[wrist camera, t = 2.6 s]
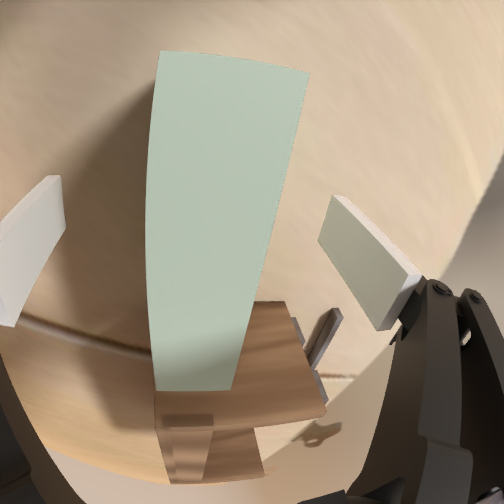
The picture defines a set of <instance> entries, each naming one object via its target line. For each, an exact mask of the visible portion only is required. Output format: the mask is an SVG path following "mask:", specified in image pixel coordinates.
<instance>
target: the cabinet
mask: <svg viewBox="0 0 504 504" xmlns="http://www.w3.org/2000/svg"><path fill="white" fill-rule="evenodd" d="M343 318H344V317H343V316H342V314H341V312H340V310H339V308H333V309H332V311H331V313H330V315H329V317H328V319H327V321H326V323H325V325H324V327H323V329H322V331H321V333H320V335H319V337H318V339H317V341H316V343H315V345H314V347H313V349H312V350H311V352H310V354H309V356H308V358H306V355H305V353H304V350H303V345H304V343H305V339H304V337H303V334H302V332H301V329H300V327H299V324H298V322H297V319H296V317H290V314H289V312H288V309H287V307H286V304H285V301H272V302H254V303H253V307H252V311H251V315H250V318H249V322H248V326H247V330H246V334H245V337H244V341H243V345H242V349H241V352H240V356H239V360H238V364H237V367H236V371H235V375H234V379H233V382H232V386H231V390H223V391H156V384H155V376H154V415H155V429H156V433H157V437H158V441H159V445H160V449H161V453H162V456H163V460H164V463H165V467H166V470H167V474H168V477H169V480H170V483H171V484H201V483H217V482H229V481H238V480H247V479H254V478H261V477H264V476H265V474H264V470H263V466H262V462H261V457H260V453H259V449H258V445H257V441H256V437H255V432H254V428H255V427H264V426H271V425H279V424H286V423H292V422H298V421H304V420H309V419H314V418H320V417H323V416H324V415H325V413H326V412H327V410H326V407H325V404H326V403H327V401H328V400H329V399H328V397H327V394H326V392H325V389H324V387H323V384H322V382H321V379H320V377H319V374H318V372H317V370H314V369H315V368H316V366H317V364H318V362H319V361H320V359H321V357H322V356H323V354H324V352H325V350H326V349H327V347H328V345H329V343H330V342H331V340H332V338H333V336H334V334H335V332H336V331H337V329H338V327H339V325H340V323H341V321H342V319H343Z"/></svg>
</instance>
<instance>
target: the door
mask: <svg viewBox="0 0 504 504" xmlns="http://www.w3.org/2000/svg"><path fill="white" fill-rule="evenodd" d="M309 75H310V73H307V72H303V71H299V70H295V69H291V68H287V67H283V66H278V65H273V64H269V63H264V62H258V61H253V60H247V59H241V58H235V57H228V56H221V55H213V54H204V53H194V52H182V51H165V50H160V55H159V61H158V67H157V74H156V81H155V88H154V96H153V104H152V113H151V123H150V134H149V146H148V160H147V179H146V211H145V251H146V283H147V302H148V317H149V330H150V341H151V351H152V360H153V368H154V376H155V384H156V391H223V390H231V386H232V382H233V379H234V375H235V371H236V367H237V364H238V360H239V356H240V352H241V349H242V345H243V341H244V337H245V334H246V330H247V326H248V322H249V318H250V315H251V311H252V307H253V303H254V299H255V295H256V292H257V288H258V284H259V280H260V276H261V272H262V268H263V264H264V260H265V256H266V253H267V249H268V245H269V241H270V237H271V233H272V229H273V225H274V221H275V217H276V213H277V209H278V205H279V201H280V197H281V192H282V188H283V184H284V180H285V176H286V172H287V168H288V164H289V160H290V155H291V151H292V147H293V143H294V139H295V135H296V130H297V126H298V122H299V118H300V113H301V109H302V105H303V101H304V96H305V92H306V88H307V83H308V79H309Z"/></svg>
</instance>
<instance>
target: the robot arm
mask: <svg viewBox="0 0 504 504" xmlns="http://www.w3.org/2000/svg"><path fill="white" fill-rule="evenodd" d="M65 229H66V223H65V215H64V206H63V195H62V182H61V175H47V176H46V177H45V178H44V179H43V180H42V181H41V182H40V183H38V184H37V185H36V186H35V187H34V188H33V189H32V190H31V191H30V192H29V193H28V194H27V195H26V196H25V197H24V198H23V199H22V200H21V201H20V202H19V203H18V204H17V205H16V206H15V207H14V208H13V209H12V210H11V211H10V212H9V213H8V214H7V215H6V216H5V217H4V219H3V220H2V221H1V222H0V325H3V326H9V327H15V324H16V322H17V320H18V317H19V315H20V313H21V311H22V308H23V306H24V304H25V302H26V300H27V298H28V296H29V294H30V292H31V290H32V288H33V286H34V284H35V282H36V280H37V278H38V276H39V274H40V272H41V270H42V268H43V267H44V265H45V263H46V261H47V259H48V258H49V256H50V254H51V252H52V251H53V249H54V247H55V245H56V244H57V242H58V240H59V239H60V237H61V235H62V234H63V232H64V231H65ZM318 242H319V244H320V245H321V247H322V248H323V250H324V251H325V253H326V254H327V255H328V257H329V258H330V260H331V261H332V263H333V264H334V266H335V267H336V269H337V270H338V272H339V273H340V275H341V276H342V278H343V279H344V281H345V282H346V284H347V285H348V287H349V288H350V290H351V292H352V293H353V295H354V296H355V298H356V299H357V301H358V302H359V304H360V306H361V307H362V309H363V310H364V312H365V313H366V315H367V317H368V318H369V320H370V321H371V323H372V325H373V326H374V328H375V330H376V331H383V330H390V329H391V328H392V327H393V325H394V323H395V322H396V320H397V319H399V320H400V322H401V323H402V325H401V326H400V328H399V329H398V331H397V332H396V334H395V336H394V337H393V339H392V340H391V342H390V343H389V345H392V344H393V342H395V341H396V345H395V350H394V355H393V360H392V365H391V370H390V375H389V380H388V384H387V388H386V392H385V397H384V401H383V405H382V409H381V412H380V416H379V420H378V423H377V427H376V430H375V433H374V437H373V440H372V443H371V446H370V449H369V452H368V455H367V458H366V461H365V464H364V467H363V469H362V471H361V473H360V475H359V476H358V478H357V479H356V480H355V481H354V482H353V483H352V485H351V486H350V488H349V490H348V491H347V493H346V494H345V491H344V490H341V491H338V492H334V493H331V494H328V495H324V496H321V497H317V498H313V499H310V500H306V501H302V502H300V503H297V504H504V338H503V336H502V334H501V332H500V330H499V327H498V325H497V323H496V321H495V319H494V317H493V315H492V313H491V311H490V309H489V307H488V305H487V303H486V301H485V300H484V298H483V297H482V296H481V294H480V293H478V292H477V291H476V290H472V289H468V288H467V289H465V290H464V291H463V293H462V295H461V297H456V296H454V295H453V293H452V291H451V290H450V289H449V288H448V287H447V286H446V285H445V284H443V283H442V282H440V281H437V280H434V279H430V280H427V279H426V278H425V277H424V276H423V275H422V273H421V272H420V271H419V270H418V269H417V268H416V267H415V266H414V265H413V264H412V263H411V261H410V260H409V259H408V258H407V257H406V256H405V255H404V254H403V253H402V252H401V251H400V250H399V249H398V248H397V247H396V246H395V245H394V244H393V243H392V242H391V241H390V239H389V238H388V237H387V236H386V235H385V234H384V233H383V232H382V231H381V230H380V229H379V228H378V227H377V226H376V225H375V224H373V223H372V222H371V221H370V220H369V219H368V218H367V217H366V216H365V215H364V214H363V213H362V212H361V211H360V210H359V209H358V208H357V207H356V206H355V205H354V204H353V203H351V202H350V201H349V200H348V199H347V198H346V197H345V196H339V195H332V197H331V200H330V204H329V207H328V210H327V213H326V217H325V220H324V223H323V226H322V229H321V232H320V235H319V238H318ZM469 331H471V338H470V339H469V340H468V342H467V343H466V344H465V345H463V342H462V340H463V339H464V338H465V337H466V335H467V334H468V332H469ZM0 504H86V503H85V502H84V501H83V500H82V499H81V498H80V497H79V496H78V495H77V494H76V492H75V491H74V490H73V489H72V487H71V486H70V485H69V483H68V482H67V480H66V479H65V478H64V476H63V475H62V473H61V472H60V471H59V469H58V467H57V466H56V465H55V463H54V462H53V460H52V458H51V457H50V455H49V454H48V452H47V450H46V449H45V447H44V445H43V444H42V442H41V440H40V439H39V437H38V435H37V433H36V432H35V430H34V428H33V426H32V424H31V422H30V421H29V419H28V417H27V415H26V413H25V411H24V409H23V407H22V405H21V403H20V400H19V398H18V396H17V394H16V392H15V390H14V387H13V385H12V383H11V380H10V378H9V375H8V373H7V370H6V368H5V365H4V363H3V360H2V357H1V354H0Z"/></svg>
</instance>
